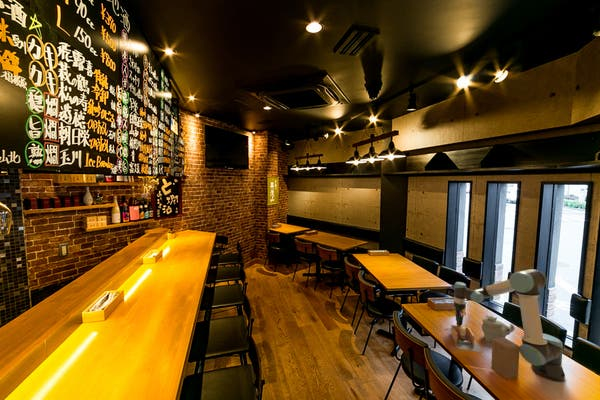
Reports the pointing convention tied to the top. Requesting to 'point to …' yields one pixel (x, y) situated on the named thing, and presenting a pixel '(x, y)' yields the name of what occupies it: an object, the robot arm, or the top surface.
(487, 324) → the teapot
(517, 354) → the wooden block
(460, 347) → the board
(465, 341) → the socket
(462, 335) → the peg
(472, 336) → the housing
